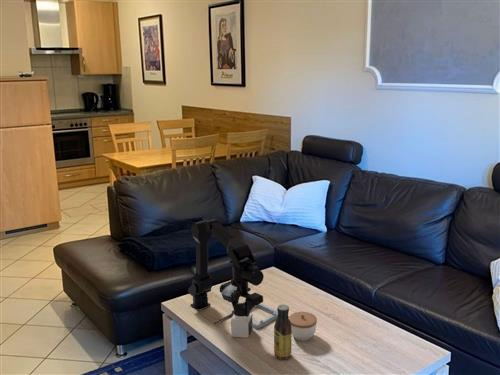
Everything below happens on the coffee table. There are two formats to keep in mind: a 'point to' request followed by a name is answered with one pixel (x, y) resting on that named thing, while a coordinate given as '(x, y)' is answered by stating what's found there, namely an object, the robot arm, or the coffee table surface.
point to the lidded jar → (303, 325)
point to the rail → (223, 318)
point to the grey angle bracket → (269, 319)
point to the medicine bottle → (241, 322)
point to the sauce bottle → (282, 334)
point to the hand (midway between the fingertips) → (241, 313)
